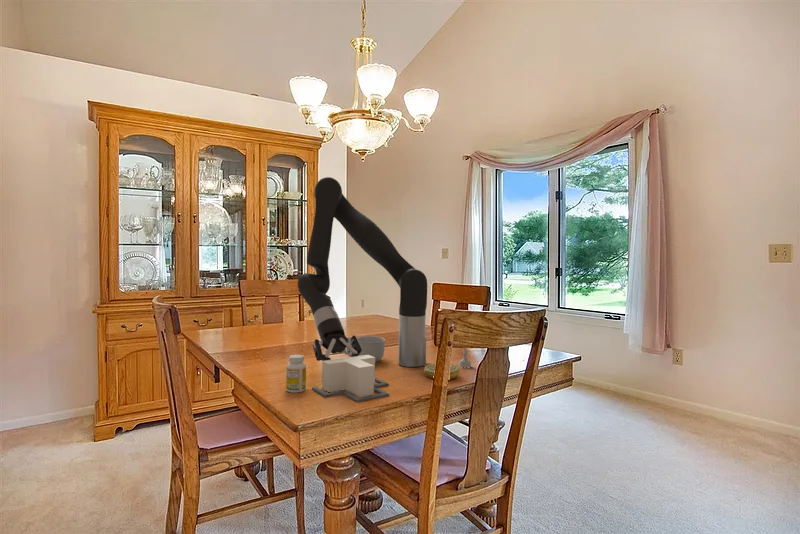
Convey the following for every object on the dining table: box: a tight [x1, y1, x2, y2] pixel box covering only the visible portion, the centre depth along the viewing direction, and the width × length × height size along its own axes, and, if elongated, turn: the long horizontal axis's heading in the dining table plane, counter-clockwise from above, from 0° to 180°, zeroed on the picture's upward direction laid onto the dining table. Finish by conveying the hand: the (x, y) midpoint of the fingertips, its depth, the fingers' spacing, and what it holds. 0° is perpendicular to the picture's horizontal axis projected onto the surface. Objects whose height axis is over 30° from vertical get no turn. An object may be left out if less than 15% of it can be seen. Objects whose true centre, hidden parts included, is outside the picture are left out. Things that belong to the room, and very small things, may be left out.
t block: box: [321, 355, 376, 398], centre depth 126 cm, size 12×15×8 cm
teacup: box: [345, 335, 386, 363], centre depth 161 cm, size 14×11×8 cm
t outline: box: [311, 376, 390, 403], centre depth 125 cm, size 16×20×1 cm
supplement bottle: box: [285, 354, 307, 394], centre depth 125 cm, size 5×5×10 cm
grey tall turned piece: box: [457, 348, 473, 367], centre depth 154 cm, size 7×7×18 cm
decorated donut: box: [424, 363, 460, 380], centre depth 141 cm, size 10×11×4 cm
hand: (345, 368), depth 131 cm, fingers open, 8 cm apart
